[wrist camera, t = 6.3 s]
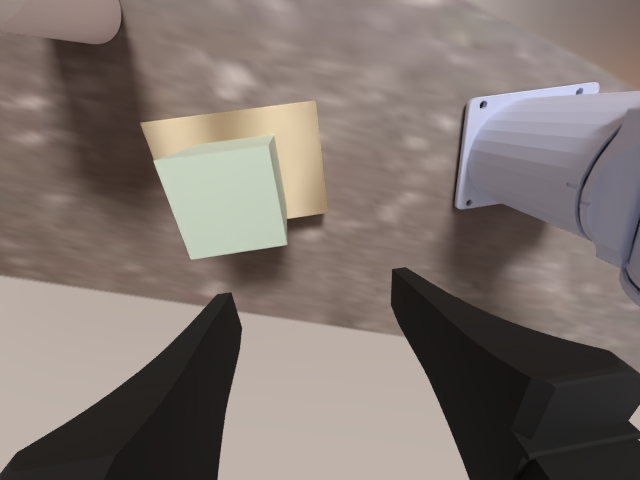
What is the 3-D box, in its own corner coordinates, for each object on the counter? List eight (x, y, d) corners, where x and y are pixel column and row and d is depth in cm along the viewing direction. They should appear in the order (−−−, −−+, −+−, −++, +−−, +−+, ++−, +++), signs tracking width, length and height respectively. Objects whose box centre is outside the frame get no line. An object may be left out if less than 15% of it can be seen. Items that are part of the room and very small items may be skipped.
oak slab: (312, 101, 17) (315, 100, 15) (324, 203, 20) (327, 212, 18) (155, 121, 17) (139, 122, 15) (192, 223, 20) (183, 234, 18)
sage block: (274, 134, 16) (268, 145, 11) (286, 205, 18) (287, 244, 13) (198, 144, 16) (153, 160, 10) (219, 214, 18) (191, 259, 12)
